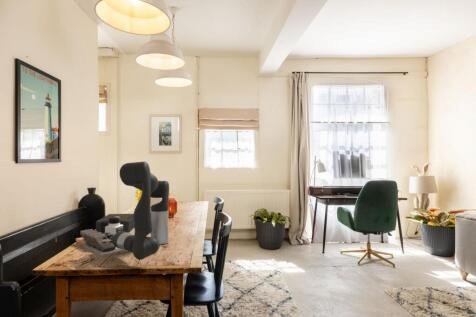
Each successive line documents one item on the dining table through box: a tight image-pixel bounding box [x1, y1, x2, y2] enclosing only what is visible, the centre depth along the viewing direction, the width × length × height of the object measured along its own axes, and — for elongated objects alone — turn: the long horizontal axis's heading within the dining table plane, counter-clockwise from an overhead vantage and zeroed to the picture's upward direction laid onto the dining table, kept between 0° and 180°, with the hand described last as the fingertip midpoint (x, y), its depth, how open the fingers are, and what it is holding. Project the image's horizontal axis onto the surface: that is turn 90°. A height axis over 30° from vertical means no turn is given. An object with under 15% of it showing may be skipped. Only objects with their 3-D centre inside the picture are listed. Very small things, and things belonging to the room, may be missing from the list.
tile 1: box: [93, 233, 117, 252], centre depth 148 cm, size 2×6×12 cm
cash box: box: [95, 213, 134, 234], centre depth 194 cm, size 25×20×8 cm
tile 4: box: [79, 228, 94, 246], centre depth 157 cm, size 2×6×12 cm
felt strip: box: [80, 244, 123, 256], centre depth 150 cm, size 24×10×1 cm, turn 50°
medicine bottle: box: [104, 217, 123, 234], centre depth 171 cm, size 7×7×12 cm
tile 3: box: [84, 230, 98, 248], centre depth 154 cm, size 2×6×12 cm
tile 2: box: [88, 232, 103, 250], centre depth 151 cm, size 2×6×12 cm
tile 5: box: [75, 236, 87, 245], centre depth 161 cm, size 2×6×12 cm
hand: (106, 234), depth 146 cm, fingers closed
